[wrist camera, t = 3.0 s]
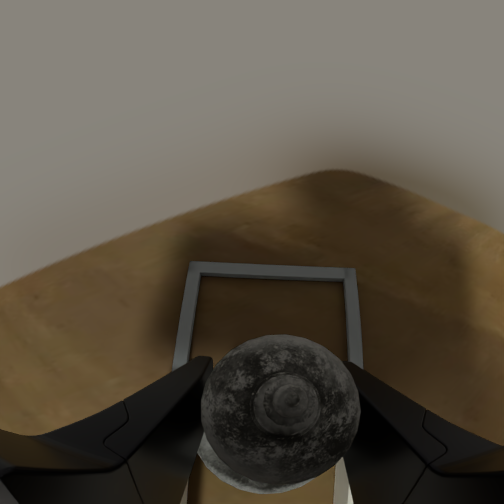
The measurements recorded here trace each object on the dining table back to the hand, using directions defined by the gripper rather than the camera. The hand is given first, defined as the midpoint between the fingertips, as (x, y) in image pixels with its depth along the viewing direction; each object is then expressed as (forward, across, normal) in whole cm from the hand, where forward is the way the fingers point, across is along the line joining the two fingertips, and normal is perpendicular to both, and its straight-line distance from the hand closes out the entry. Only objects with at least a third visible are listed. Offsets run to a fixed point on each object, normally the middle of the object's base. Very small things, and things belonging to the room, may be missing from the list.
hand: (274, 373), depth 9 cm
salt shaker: (+4, 0, +6) cm, 7 cm away
